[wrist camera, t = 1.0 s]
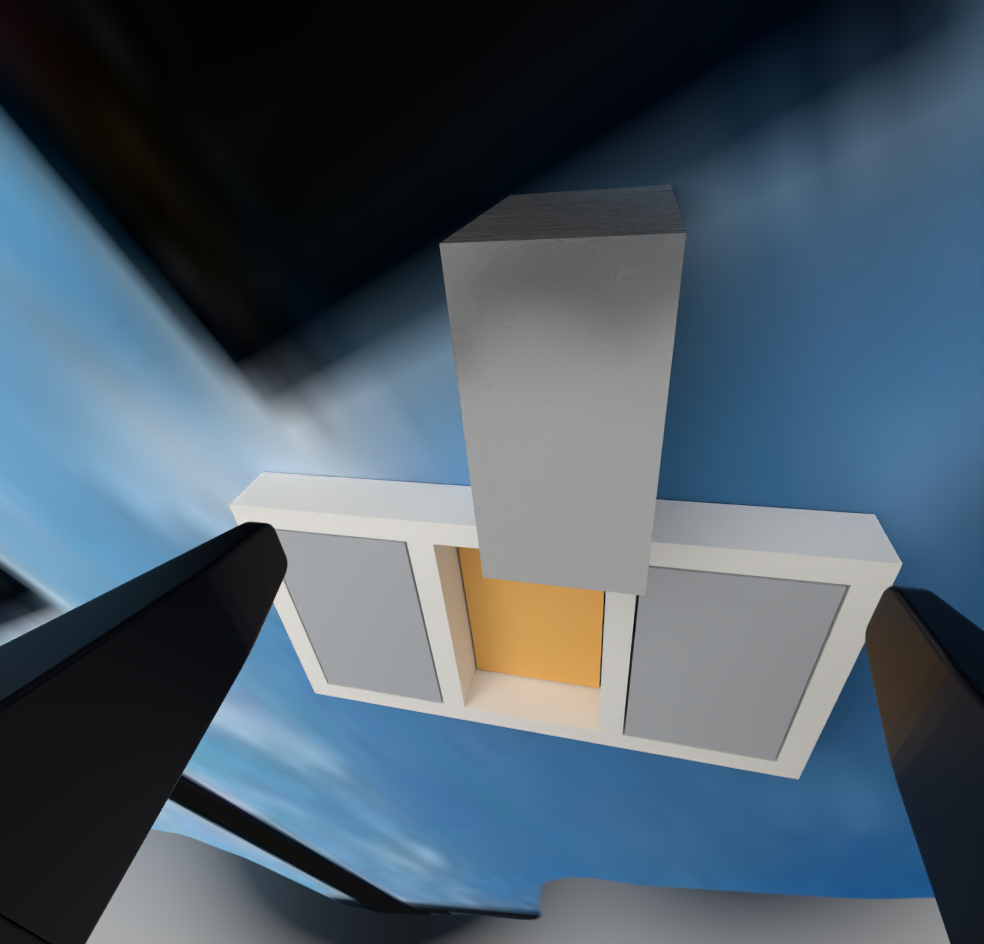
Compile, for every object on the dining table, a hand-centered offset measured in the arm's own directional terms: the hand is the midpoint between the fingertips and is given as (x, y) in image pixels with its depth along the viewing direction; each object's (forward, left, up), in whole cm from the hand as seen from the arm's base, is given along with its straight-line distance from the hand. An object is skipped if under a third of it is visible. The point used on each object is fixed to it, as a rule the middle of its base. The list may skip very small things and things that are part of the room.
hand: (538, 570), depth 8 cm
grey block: (0, 0, -10) cm, 10 cm away
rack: (+2, +12, -9) cm, 15 cm away
